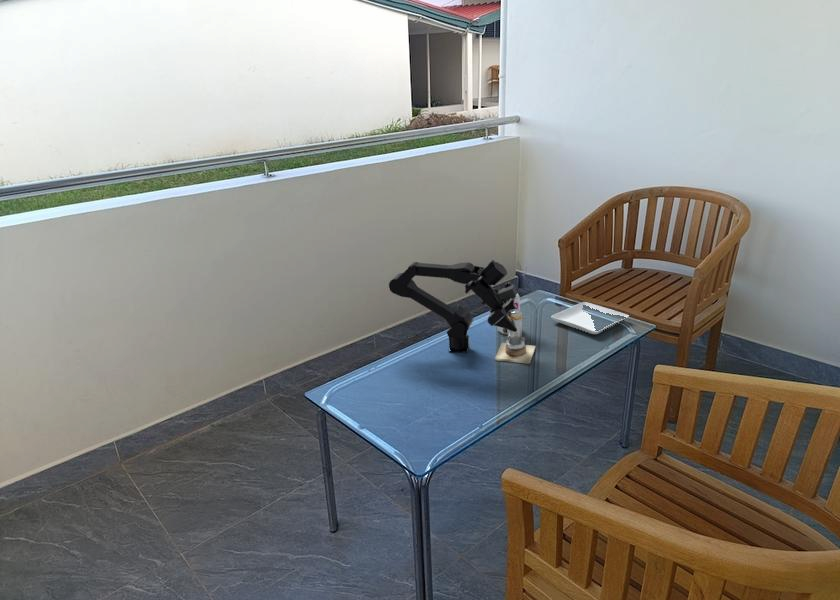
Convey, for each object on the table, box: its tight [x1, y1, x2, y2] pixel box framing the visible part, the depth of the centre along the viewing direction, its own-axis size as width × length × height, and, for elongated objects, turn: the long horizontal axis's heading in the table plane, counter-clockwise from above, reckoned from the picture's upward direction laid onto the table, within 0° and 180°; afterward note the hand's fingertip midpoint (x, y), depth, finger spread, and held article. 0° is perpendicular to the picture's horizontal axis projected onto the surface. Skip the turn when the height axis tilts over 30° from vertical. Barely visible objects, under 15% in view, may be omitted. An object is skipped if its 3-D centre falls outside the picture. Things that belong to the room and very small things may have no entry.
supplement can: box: [497, 293, 521, 336], centre depth 223 cm, size 8×8×15 cm
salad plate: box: [551, 301, 630, 335], centre depth 228 cm, size 21×21×3 cm
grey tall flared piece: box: [505, 309, 526, 350], centre depth 205 cm, size 7×6×13 cm
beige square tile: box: [494, 342, 537, 364], centre depth 208 cm, size 12×12×3 cm
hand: (518, 325), depth 204 cm, fingers open, 9 cm apart
